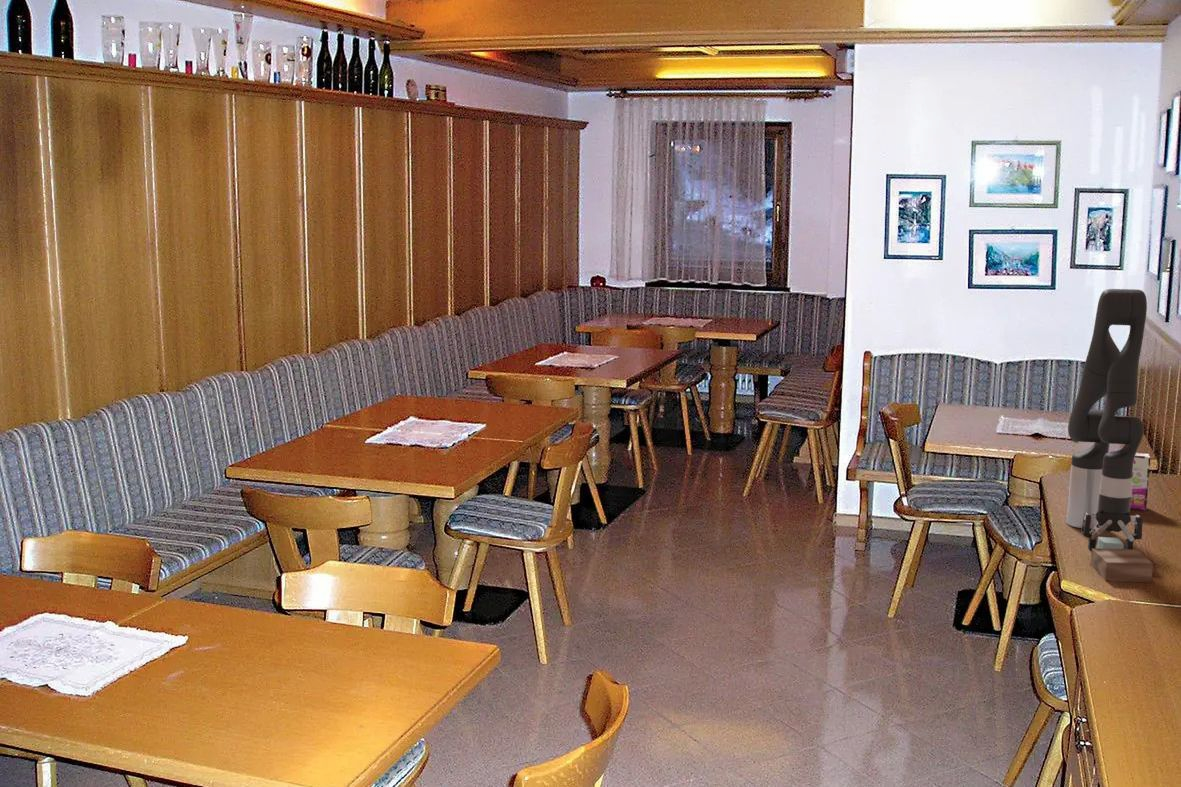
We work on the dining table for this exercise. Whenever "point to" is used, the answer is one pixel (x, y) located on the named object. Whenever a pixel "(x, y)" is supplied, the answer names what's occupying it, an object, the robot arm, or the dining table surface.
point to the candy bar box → (1140, 481)
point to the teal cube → (1109, 543)
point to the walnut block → (1121, 565)
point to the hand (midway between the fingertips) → (1109, 553)
